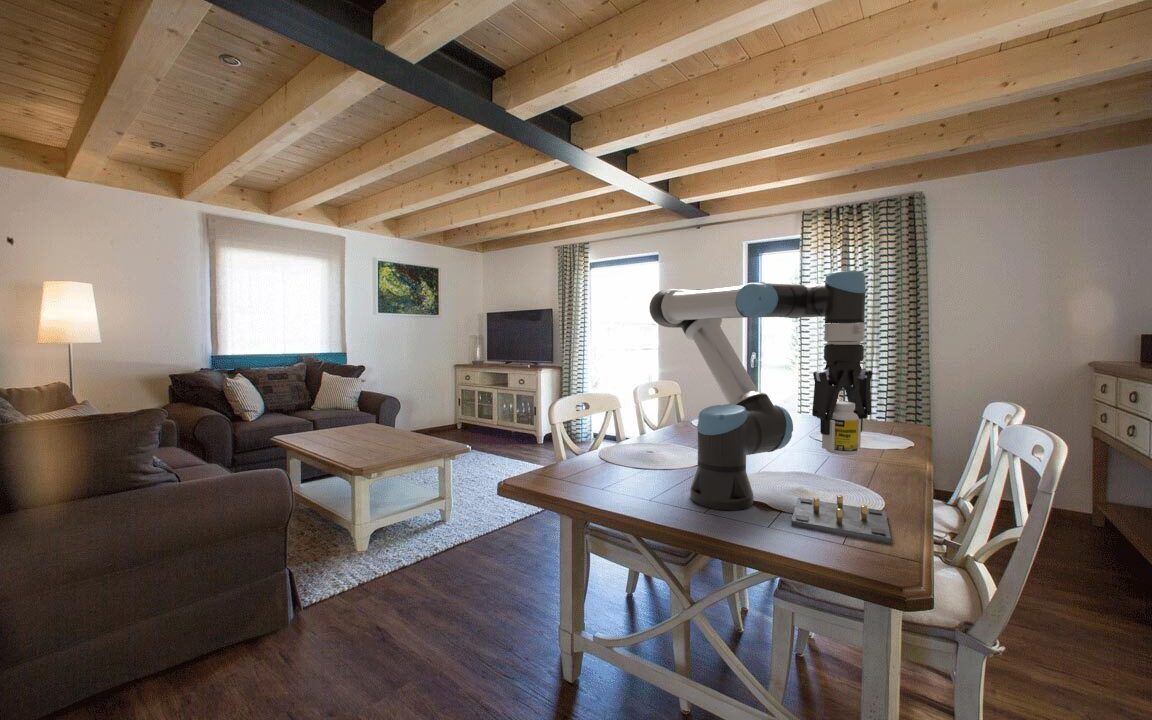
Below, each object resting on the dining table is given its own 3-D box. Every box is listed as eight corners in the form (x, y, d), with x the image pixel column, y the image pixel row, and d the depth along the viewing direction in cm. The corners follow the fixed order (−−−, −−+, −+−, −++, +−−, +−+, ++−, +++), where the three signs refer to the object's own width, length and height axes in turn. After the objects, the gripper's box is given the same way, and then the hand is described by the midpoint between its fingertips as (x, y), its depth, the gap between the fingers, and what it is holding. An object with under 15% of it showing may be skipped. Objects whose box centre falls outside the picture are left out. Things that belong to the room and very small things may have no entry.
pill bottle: (827, 454, 102) (828, 403, 101) (823, 447, 108) (824, 399, 107) (860, 457, 100) (861, 405, 99) (854, 450, 105) (856, 401, 105)
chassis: (791, 525, 102) (791, 506, 102) (797, 502, 116) (798, 485, 116) (890, 543, 93) (891, 523, 93) (884, 516, 107) (885, 498, 107)
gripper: (820, 344, 96) (817, 455, 98) (894, 343, 101) (890, 449, 102) (794, 343, 103) (792, 447, 105) (864, 342, 108) (861, 441, 110)
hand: (841, 447), depth 104 cm, fingers closed on pill bottle, 6 cm apart
